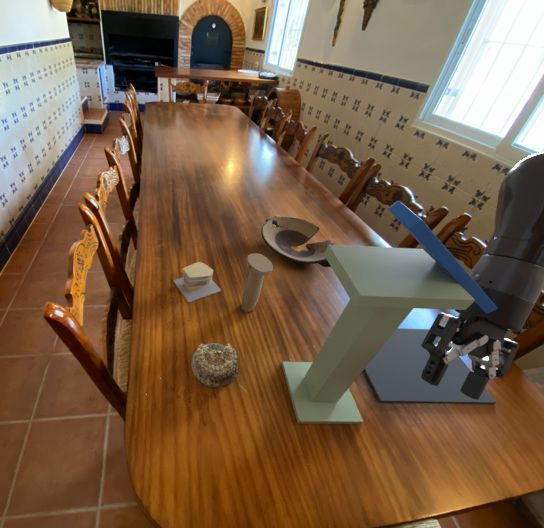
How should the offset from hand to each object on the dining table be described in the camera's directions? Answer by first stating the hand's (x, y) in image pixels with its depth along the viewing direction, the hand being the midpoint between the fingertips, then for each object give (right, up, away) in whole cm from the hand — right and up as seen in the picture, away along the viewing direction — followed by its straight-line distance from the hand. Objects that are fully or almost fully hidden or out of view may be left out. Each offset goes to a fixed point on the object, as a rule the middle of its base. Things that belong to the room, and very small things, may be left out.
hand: (449, 389), depth 45 cm
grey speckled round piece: (-35, -2, +17) cm, 38 cm away
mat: (+9, -3, +20) cm, 23 cm away
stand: (-14, -6, +14) cm, 21 cm away
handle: (-25, +8, +30) cm, 40 cm away
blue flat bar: (-7, +19, -7) cm, 22 cm away
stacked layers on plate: (-38, +13, +35) cm, 53 cm away
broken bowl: (-6, +22, +49) cm, 54 cm away
